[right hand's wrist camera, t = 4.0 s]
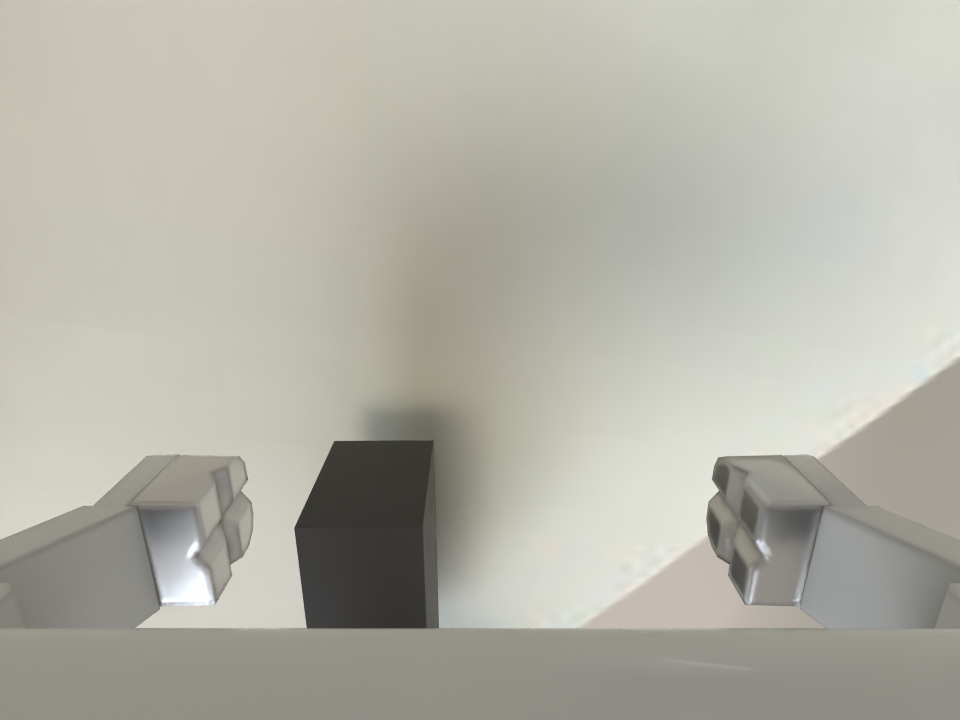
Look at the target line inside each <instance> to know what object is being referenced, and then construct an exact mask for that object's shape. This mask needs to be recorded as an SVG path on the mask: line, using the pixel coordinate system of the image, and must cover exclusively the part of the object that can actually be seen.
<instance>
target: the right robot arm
mask: <svg viewBox="0 0 960 720" xmlns="http://www.w3.org/2000/svg"><path fill="white" fill-rule="evenodd" d="M247 480H248V477H247V472H246V467H245V462H244V461H243V460H242V459H241V458H240V456H198V455H182V456H181V455H152V456H146V457H145V458H144V459H143V460H142V461H141V462H140V463H139V464H138V465H137V466H136V467H134V468H133V469H132V470H131V471H130V472H129V473H128V474H127V475H126V476H125V477H124V478H123V479H121V480H120V481H119V482H118V483H117V484H116V485H115V486H114V487H113V488H112V489H111V490H110V491H108V492H107V493H106V494H105V495H104V496H103V497H102V498H101V499H100V500H99V501H98V502H97V503H96V504H94V505H93V506H82V507H80V508H77V509H75V510H72V511H70V512H67V513H65V514H63V515H60V516H58V517H55V518H53V519H50V520H48V521H46V522H43V523H41V524H38V525H36V526H33V527H31V528H28V529H26V530H24V531H21V532H19V533H16V534H14V535H11V536H9V537H6V538H4V539H2V540H0V720H960V540H958V539H956V538H953V537H951V536H948V535H946V534H944V533H941V532H939V531H936V530H934V529H931V528H929V527H927V526H924V525H922V524H919V523H917V522H914V521H912V520H910V519H907V518H905V517H902V516H900V515H897V514H895V513H892V512H890V511H888V510H885V509H883V508H880V507H878V506H867V505H866V504H864V503H863V502H862V501H861V500H860V499H859V498H858V497H857V496H856V495H855V494H854V493H853V492H852V491H851V490H849V489H848V488H847V487H846V486H845V485H844V484H843V483H842V482H841V481H840V480H839V479H837V477H835V476H834V475H833V474H832V473H831V472H830V471H829V470H828V469H827V468H826V467H825V466H824V465H822V464H821V463H820V462H819V461H818V460H817V459H816V458H815V457H813V456H810V455H807V454H805V455H767V456H726V457H719V458H718V459H717V461H716V464H715V466H714V471H713V477H712V480H713V482H714V483H715V485H716V486H717V488H718V489H719V491H718V493H717V494H716V495H715V496H714V497H713V498H712V499H711V500H710V501H709V502H708V510H707V529H708V536H709V540H710V543H711V546H712V548H713V550H714V552H715V553H716V555H717V557H718V558H720V559H722V560H723V561H725V562H726V563H728V564H729V565H730V566H729V572H728V576H729V578H730V580H731V581H732V583H733V585H734V587H735V588H736V590H737V592H738V593H739V595H740V597H741V599H742V600H743V602H744V604H745V605H768V606H800V609H801V610H802V611H803V612H805V613H806V614H807V615H809V616H810V617H811V618H813V619H814V620H815V621H817V622H818V623H819V624H821V625H822V626H823V627H825V628H821V629H820V628H819V629H817V628H815V629H813V628H800V629H799V628H766V629H765V628H729V629H728V628H725V629H724V628H723V629H722V628H713V629H712V628H710V629H709V628H707V629H706V628H135V627H137V626H138V625H139V624H141V623H142V622H143V621H145V620H146V619H147V618H149V617H150V616H151V615H153V614H154V613H155V612H157V611H158V610H159V609H160V606H191V605H215V604H216V602H217V600H218V599H219V597H220V595H221V594H222V592H223V590H224V588H225V587H226V585H227V583H228V581H229V580H230V578H231V576H232V572H231V566H230V565H231V564H232V563H234V562H235V561H237V560H238V559H240V558H242V557H243V555H244V553H245V552H246V550H247V548H248V546H249V543H250V539H251V535H252V531H253V509H252V502H251V501H250V500H249V499H248V498H247V497H246V496H245V495H244V494H243V493H242V491H241V489H242V488H243V486H244V485H245V483H246V482H247Z"/></svg>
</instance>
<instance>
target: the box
mask: <svg viewBox="0 0 960 720" xmlns="http://www.w3.org/2000/svg"><path fill="white" fill-rule="evenodd" d="M295 536H296V544H297V552H298V560H299V568H300V576H301V584H302V592H303V601H304V609H305V617H306V625H307V628H439V616H438V581H437V546H436V511H435V476H434V441H433V440H431V441H334V443H333V445H332V447H331V450H330V452H329V454H328V456H327V458H326V460H325V463H324V465H323V467H322V469H321V471H320V473H319V476H318V478H317V480H316V482H315V484H314V487H313V489H312V491H311V493H310V495H309V497H308V500H307V502H306V504H305V506H304V508H303V510H302V513H301V515H300V517H299V519H298V521H297V523H296V526H295Z"/></svg>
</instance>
